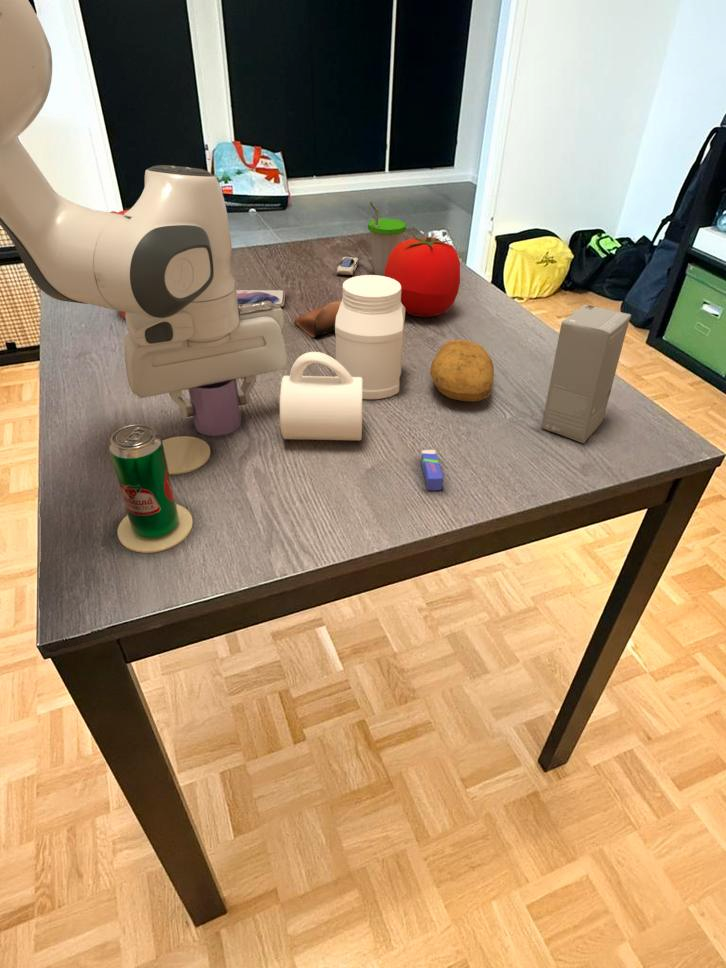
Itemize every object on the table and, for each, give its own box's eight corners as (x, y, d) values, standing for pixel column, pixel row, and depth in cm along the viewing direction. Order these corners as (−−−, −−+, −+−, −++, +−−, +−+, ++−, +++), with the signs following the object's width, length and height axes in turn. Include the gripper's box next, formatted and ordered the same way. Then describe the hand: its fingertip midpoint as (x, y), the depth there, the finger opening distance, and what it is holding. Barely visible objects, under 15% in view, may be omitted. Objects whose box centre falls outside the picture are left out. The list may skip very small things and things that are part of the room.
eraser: (435, 461, 80) (436, 448, 78) (442, 491, 75) (443, 478, 74) (419, 462, 80) (421, 449, 78) (426, 491, 75) (427, 478, 74)
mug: (361, 452, 81) (363, 370, 73) (281, 451, 81) (275, 368, 73) (361, 418, 87) (363, 339, 80) (287, 417, 87) (283, 337, 80)
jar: (397, 402, 91) (404, 303, 82) (332, 397, 92) (332, 299, 82) (402, 365, 100) (408, 272, 91) (343, 361, 101) (343, 268, 91)
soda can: (122, 535, 67) (95, 444, 60) (148, 506, 71) (126, 418, 64) (164, 546, 66) (141, 454, 59) (188, 516, 70) (169, 427, 63)
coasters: (119, 560, 65) (119, 558, 65) (111, 449, 80) (111, 447, 80) (234, 535, 68) (234, 533, 68) (205, 433, 84) (205, 431, 83)
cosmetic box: (583, 445, 83) (616, 335, 73) (534, 427, 87) (559, 319, 77) (605, 419, 89) (638, 313, 79) (558, 402, 92) (584, 299, 82)
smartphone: (283, 304, 116) (202, 304, 115) (284, 308, 117) (203, 308, 116) (285, 289, 121) (208, 289, 121) (285, 293, 122) (208, 293, 121)
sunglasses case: (369, 298, 120) (381, 274, 114) (388, 327, 119) (401, 304, 113) (290, 320, 111) (299, 295, 106) (309, 351, 110) (319, 328, 104)
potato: (424, 409, 90) (428, 366, 85) (432, 368, 100) (436, 327, 95) (489, 416, 89) (496, 373, 84) (490, 374, 98) (497, 333, 94)
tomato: (456, 330, 111) (466, 252, 102) (379, 325, 112) (383, 247, 103) (455, 296, 123) (464, 224, 115) (386, 292, 124) (389, 220, 116)
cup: (401, 268, 135) (405, 194, 126) (405, 281, 129) (410, 204, 120) (365, 268, 135) (367, 193, 125) (367, 281, 129) (369, 204, 119)
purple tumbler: (198, 439, 82) (190, 393, 78) (192, 415, 87) (184, 370, 83) (244, 431, 84) (239, 386, 80) (236, 408, 89) (231, 364, 84)
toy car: (361, 259, 139) (361, 247, 137) (352, 278, 130) (352, 265, 128) (345, 257, 139) (345, 246, 138) (335, 276, 130) (335, 264, 129)
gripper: (273, 289, 81) (280, 383, 90) (111, 314, 74) (135, 413, 83) (291, 307, 77) (296, 403, 86) (120, 336, 70) (144, 438, 78)
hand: (215, 408), depth 84 cm, fingers closed on purple tumbler, 6 cm apart
